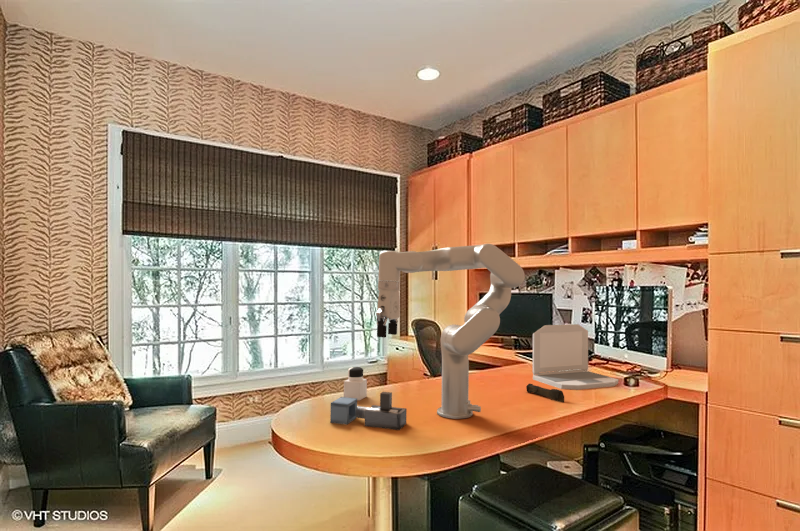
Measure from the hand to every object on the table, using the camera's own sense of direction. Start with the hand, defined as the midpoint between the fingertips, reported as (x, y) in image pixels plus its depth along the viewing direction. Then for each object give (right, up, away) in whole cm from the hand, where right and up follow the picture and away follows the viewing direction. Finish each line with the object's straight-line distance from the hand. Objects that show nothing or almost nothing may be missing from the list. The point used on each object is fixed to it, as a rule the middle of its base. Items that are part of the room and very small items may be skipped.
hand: (387, 335), depth 159 cm
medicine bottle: (-14, -29, +25) cm, 40 cm away
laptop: (+89, -32, +58) cm, 111 cm away
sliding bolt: (-3, -27, -8) cm, 28 cm away
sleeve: (0, -28, -9) cm, 29 cm away
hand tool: (+65, -30, +30) cm, 78 cm away
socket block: (-15, -28, -4) cm, 32 cm away
